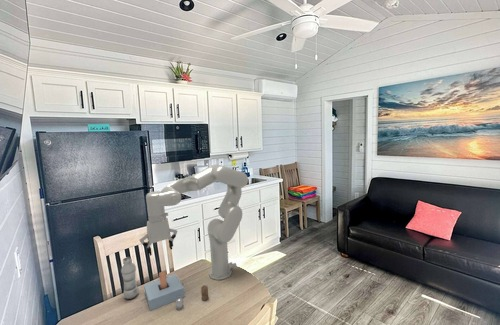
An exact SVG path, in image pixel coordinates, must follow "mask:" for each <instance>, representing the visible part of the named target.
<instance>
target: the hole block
mask: <svg viewBox="0 0 500 325" xmlns="http://www.w3.org/2000/svg"><path fill="white" fill-rule="evenodd" d="M166 279H167V288H165V289H162V290H161V289H160V279H158V280H155V281H151V282H147V283H145V284H144V285H143V286H144V295H145V299H146V302H147V306H148V308H149V311H153V310H155V309H158V308H160V307H163V306H165V305H168V304H170V303H174V302H176V300H175V299H176V298H177V297H183V298H186V297H185V287H184V285H183V284H182V282H181V281H180V279H179V276H178V275H177V274H176V273H175V274H172V275H170V276H166Z"/></svg>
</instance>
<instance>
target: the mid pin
mask: <svg viewBox="0 0 500 325" xmlns="http://www.w3.org/2000/svg"><path fill="white" fill-rule="evenodd" d="M200 293H201V300H202V301H203V302H207V301H209V287H208V285H206V284H205V285H202V286H201V287H200Z"/></svg>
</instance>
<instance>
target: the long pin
mask: <svg viewBox="0 0 500 325" xmlns="http://www.w3.org/2000/svg"><path fill="white" fill-rule="evenodd" d="M158 277H159V278H158V280H160V289H161V290H162V289H165V288H167V279H166V277H167V271H165V270H164V271H163V270H161V272H160V271H159V273H158Z"/></svg>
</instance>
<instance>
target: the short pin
mask: <svg viewBox="0 0 500 325" xmlns="http://www.w3.org/2000/svg"><path fill="white" fill-rule="evenodd" d="M175 300H176V301H175V308H176V310H177V311H182V310H183V309H184V299H183V297H177V298H176V299H175Z"/></svg>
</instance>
